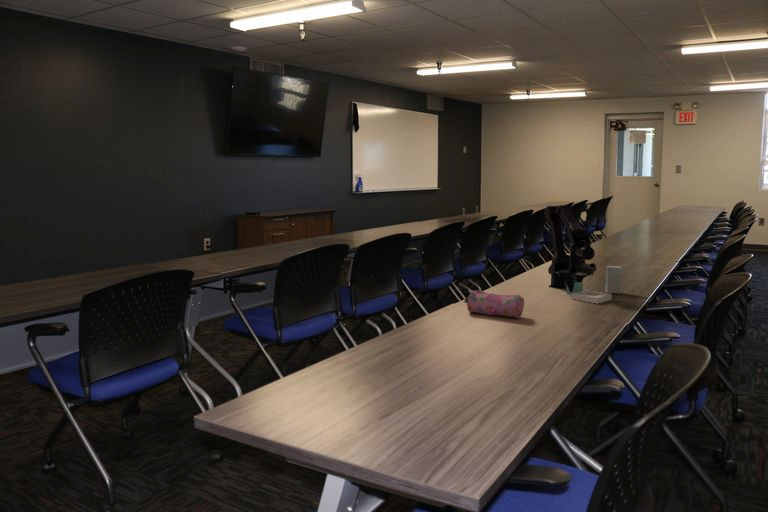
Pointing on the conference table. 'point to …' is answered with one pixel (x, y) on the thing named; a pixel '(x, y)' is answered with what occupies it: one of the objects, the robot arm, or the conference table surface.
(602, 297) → the socket plate
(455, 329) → the conference table surface
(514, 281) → the conference table surface
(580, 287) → the plug
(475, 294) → the pencil case
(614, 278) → the skincare box
